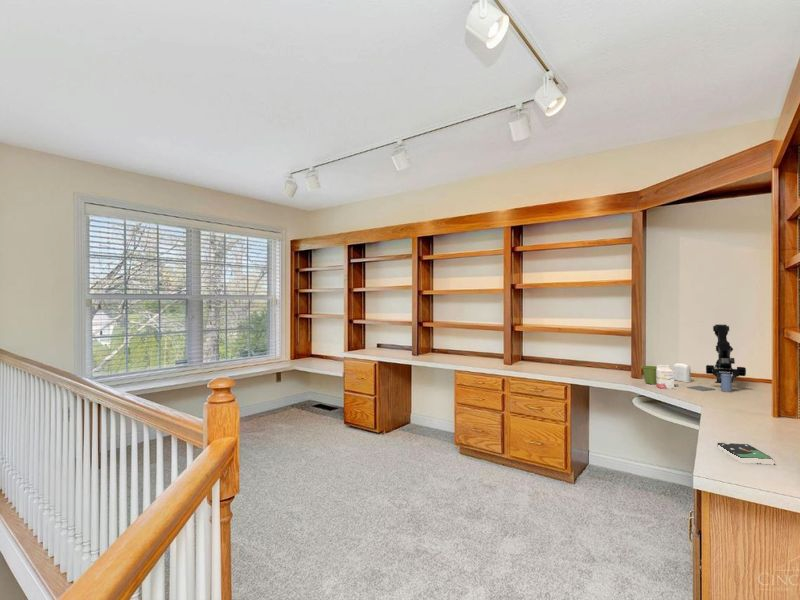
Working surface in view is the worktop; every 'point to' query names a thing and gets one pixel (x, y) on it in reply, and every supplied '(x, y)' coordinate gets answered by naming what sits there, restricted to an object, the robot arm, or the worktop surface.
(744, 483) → the worktop surface
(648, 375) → the plant pot
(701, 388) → the rubber mat
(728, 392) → the terracotta saucer
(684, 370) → the photo printer
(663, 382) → the ink cartridge box
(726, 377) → the domed octagonal peg
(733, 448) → the disk drive
